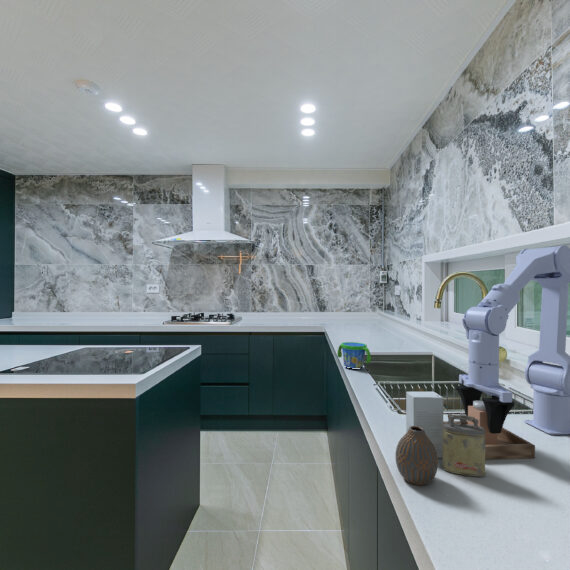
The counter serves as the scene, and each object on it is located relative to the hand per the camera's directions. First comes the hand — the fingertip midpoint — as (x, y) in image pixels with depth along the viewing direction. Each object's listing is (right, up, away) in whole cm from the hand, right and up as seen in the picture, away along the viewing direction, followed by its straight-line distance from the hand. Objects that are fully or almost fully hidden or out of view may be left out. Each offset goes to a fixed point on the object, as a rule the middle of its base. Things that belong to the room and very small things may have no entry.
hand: (482, 425), depth 75 cm
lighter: (-10, -4, -11) cm, 16 cm away
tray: (0, -4, 0) cm, 4 cm away
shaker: (0, -3, 0) cm, 3 cm away
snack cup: (-14, -5, +71) cm, 72 cm away
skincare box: (-15, -4, -5) cm, 16 cm away
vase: (-20, -4, -14) cm, 25 cm away
